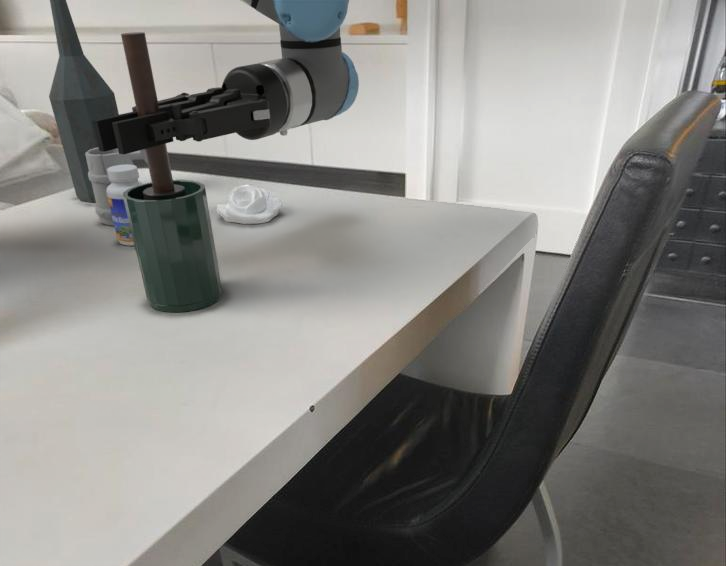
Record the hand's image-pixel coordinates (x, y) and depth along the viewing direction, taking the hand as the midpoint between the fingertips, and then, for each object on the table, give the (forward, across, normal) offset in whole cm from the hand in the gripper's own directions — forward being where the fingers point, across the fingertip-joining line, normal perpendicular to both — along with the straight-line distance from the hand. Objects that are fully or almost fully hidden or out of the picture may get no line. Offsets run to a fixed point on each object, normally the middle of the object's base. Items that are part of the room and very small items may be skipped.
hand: (108, 137), depth 66 cm
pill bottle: (-18, +22, -18) cm, 33 cm away
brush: (-6, 0, -12) cm, 13 cm away
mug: (-25, +30, -18) cm, 43 cm away
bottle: (-32, +46, -18) cm, 59 cm away
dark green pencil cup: (-6, 0, -18) cm, 19 cm away
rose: (-34, +15, -18) cm, 42 cm away
